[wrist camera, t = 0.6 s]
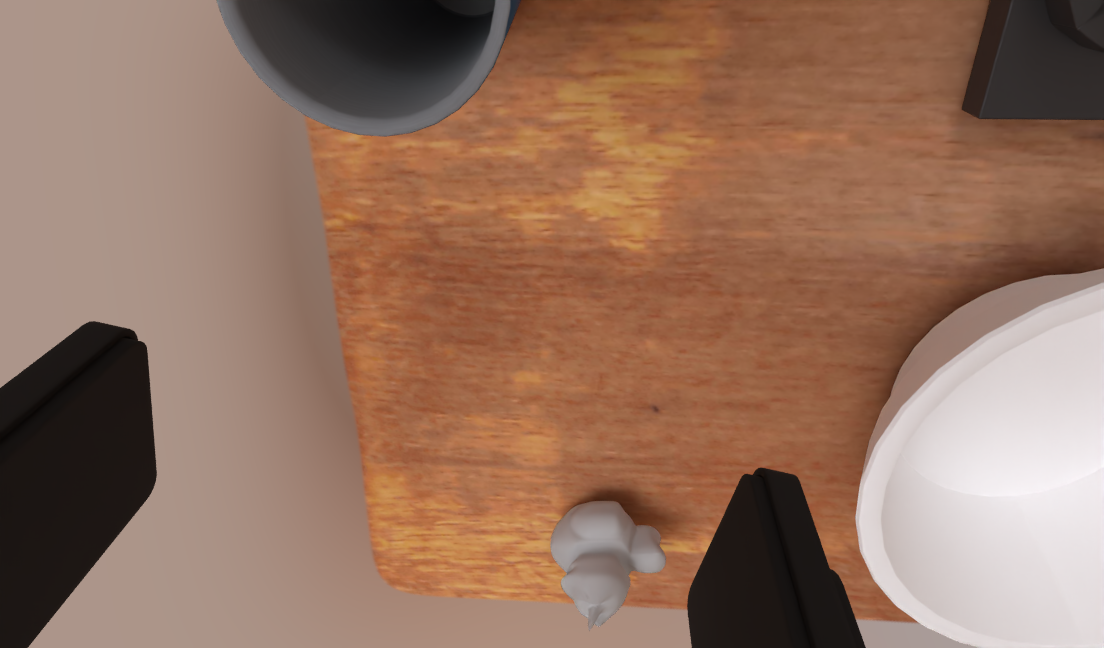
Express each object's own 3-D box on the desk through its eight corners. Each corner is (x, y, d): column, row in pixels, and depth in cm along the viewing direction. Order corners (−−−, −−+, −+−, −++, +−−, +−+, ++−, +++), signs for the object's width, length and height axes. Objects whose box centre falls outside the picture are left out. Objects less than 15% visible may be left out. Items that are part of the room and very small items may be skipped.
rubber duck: (549, 484, 42) (538, 594, 35) (661, 482, 42) (673, 595, 35) (556, 549, 45) (547, 664, 38) (662, 549, 44) (672, 666, 37)
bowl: (1316, 152, 30) (1533, 223, 23) (1203, 516, 40) (1331, 644, 33) (804, 232, 34) (857, 315, 27) (816, 550, 43) (857, 673, 36)
